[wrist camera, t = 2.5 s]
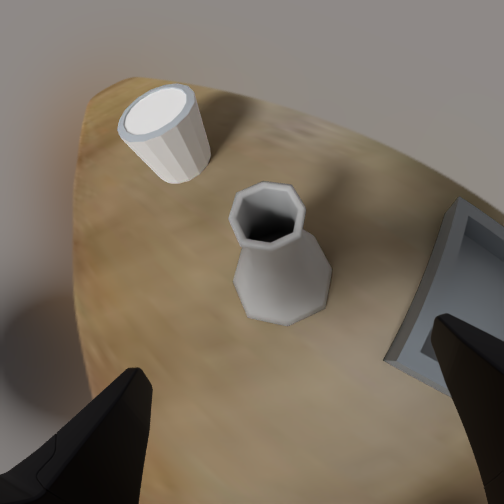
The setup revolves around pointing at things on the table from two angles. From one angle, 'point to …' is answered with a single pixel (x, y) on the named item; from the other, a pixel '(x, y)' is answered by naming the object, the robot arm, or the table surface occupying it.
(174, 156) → the white cup
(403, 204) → the table surface
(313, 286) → the light grey vase
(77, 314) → the table surface
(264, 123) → the table surface
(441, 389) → the tray
